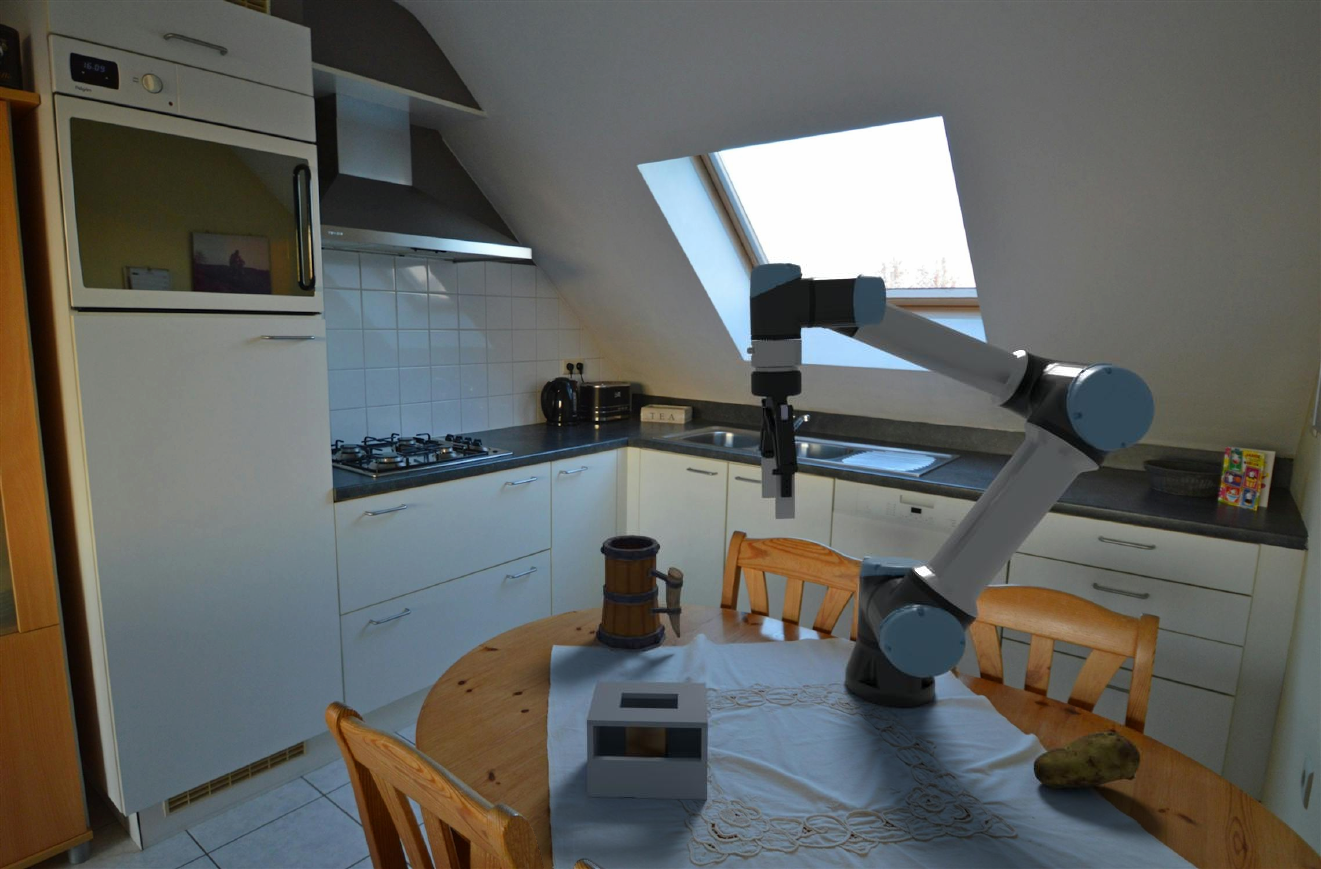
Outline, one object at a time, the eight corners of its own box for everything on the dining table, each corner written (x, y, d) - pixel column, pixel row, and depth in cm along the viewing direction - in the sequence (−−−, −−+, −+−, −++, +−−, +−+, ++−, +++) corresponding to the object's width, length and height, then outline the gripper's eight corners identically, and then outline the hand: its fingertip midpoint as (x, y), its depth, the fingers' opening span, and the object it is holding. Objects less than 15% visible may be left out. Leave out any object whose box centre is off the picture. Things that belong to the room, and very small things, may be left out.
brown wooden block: (667, 764, 105) (668, 712, 104) (664, 775, 102) (664, 721, 101) (630, 760, 106) (629, 708, 105) (626, 771, 103) (625, 717, 102)
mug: (699, 638, 150) (700, 543, 147) (662, 664, 138) (662, 561, 135) (622, 618, 160) (621, 529, 158) (580, 641, 148) (579, 545, 146)
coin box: (704, 752, 109) (705, 682, 108) (706, 799, 98) (707, 722, 97) (597, 750, 110) (596, 680, 108) (587, 796, 99) (586, 719, 97)
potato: (1028, 760, 108) (1032, 708, 107) (1130, 780, 103) (1135, 726, 102) (1033, 793, 100) (1038, 738, 99) (1144, 816, 95) (1150, 758, 94)
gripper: (741, 366, 123) (743, 490, 126) (763, 374, 98) (765, 529, 101) (786, 364, 123) (787, 489, 126) (819, 372, 98) (819, 527, 101)
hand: (777, 507), depth 114 cm, fingers open, 13 cm apart
